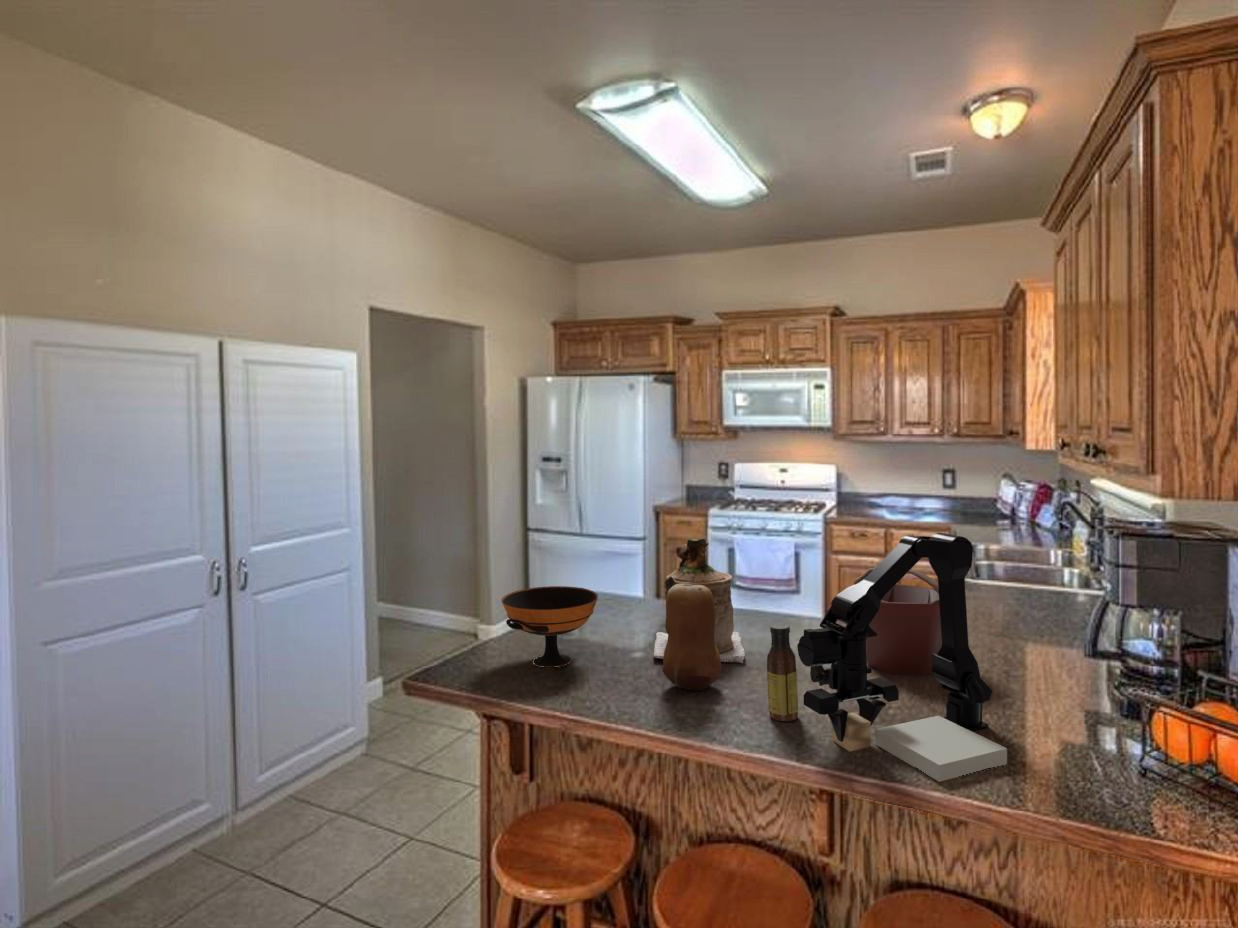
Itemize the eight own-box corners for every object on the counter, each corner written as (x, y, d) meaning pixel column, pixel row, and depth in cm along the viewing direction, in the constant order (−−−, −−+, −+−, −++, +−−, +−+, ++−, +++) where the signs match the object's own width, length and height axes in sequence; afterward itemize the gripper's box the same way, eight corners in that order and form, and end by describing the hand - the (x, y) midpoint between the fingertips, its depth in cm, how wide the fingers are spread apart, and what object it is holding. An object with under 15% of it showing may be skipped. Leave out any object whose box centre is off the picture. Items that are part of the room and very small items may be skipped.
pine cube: (853, 736, 143) (853, 712, 142) (870, 747, 138) (870, 721, 138) (832, 741, 141) (832, 716, 141) (849, 751, 136) (849, 726, 136)
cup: (560, 692, 169) (558, 618, 168) (471, 678, 180) (469, 609, 179) (622, 647, 202) (621, 586, 201) (544, 638, 212) (543, 579, 211)
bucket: (835, 657, 190) (835, 564, 189) (894, 644, 200) (894, 556, 199) (910, 686, 168) (911, 582, 167) (972, 670, 178) (973, 571, 177)
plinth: (938, 729, 145) (938, 715, 145) (1006, 764, 130) (1007, 748, 130) (875, 743, 139) (875, 728, 139) (939, 781, 124) (939, 764, 124)
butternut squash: (704, 674, 179) (703, 576, 178) (731, 692, 167) (730, 587, 165) (653, 682, 174) (652, 581, 173) (677, 702, 162) (676, 593, 160)
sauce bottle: (793, 710, 156) (793, 620, 155) (802, 722, 149) (801, 629, 148) (764, 711, 156) (763, 621, 154) (771, 723, 149) (770, 630, 148)
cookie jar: (740, 637, 210) (739, 529, 208) (746, 665, 186) (745, 543, 184) (656, 636, 213) (654, 529, 211) (652, 663, 188) (650, 543, 186)
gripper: (862, 642, 149) (862, 715, 150) (786, 654, 143) (787, 730, 143) (901, 658, 139) (900, 736, 140) (821, 671, 132) (821, 753, 133)
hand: (851, 738), depth 139 cm, fingers open, 5 cm apart
